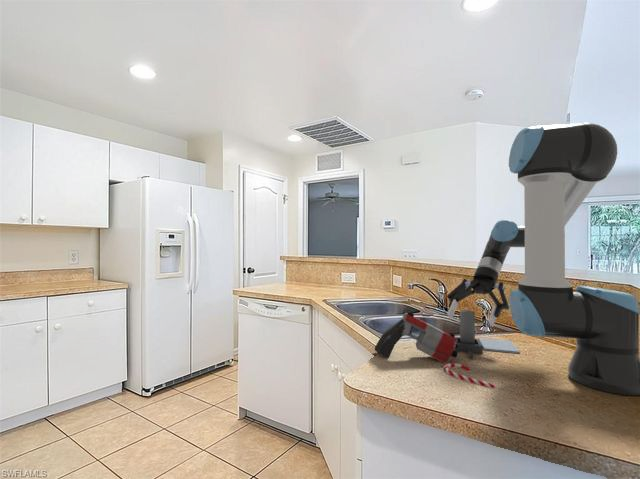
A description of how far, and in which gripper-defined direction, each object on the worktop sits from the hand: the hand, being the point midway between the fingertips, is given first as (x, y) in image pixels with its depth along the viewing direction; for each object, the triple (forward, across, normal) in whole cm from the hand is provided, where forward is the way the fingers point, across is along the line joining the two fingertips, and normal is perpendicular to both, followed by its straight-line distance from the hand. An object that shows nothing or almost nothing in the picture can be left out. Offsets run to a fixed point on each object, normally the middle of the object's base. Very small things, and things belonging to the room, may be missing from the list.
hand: (468, 320), depth 110 cm
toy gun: (+23, +6, +10) cm, 25 cm away
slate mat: (+1, -6, -11) cm, 13 cm away
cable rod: (+8, -1, -4) cm, 9 cm away
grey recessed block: (+10, -2, -2) cm, 10 cm away
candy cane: (+24, -11, +11) cm, 29 cm away
